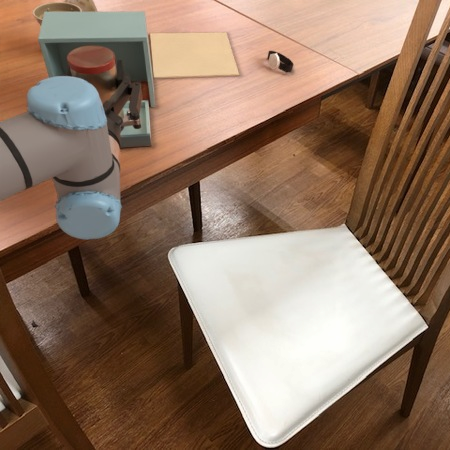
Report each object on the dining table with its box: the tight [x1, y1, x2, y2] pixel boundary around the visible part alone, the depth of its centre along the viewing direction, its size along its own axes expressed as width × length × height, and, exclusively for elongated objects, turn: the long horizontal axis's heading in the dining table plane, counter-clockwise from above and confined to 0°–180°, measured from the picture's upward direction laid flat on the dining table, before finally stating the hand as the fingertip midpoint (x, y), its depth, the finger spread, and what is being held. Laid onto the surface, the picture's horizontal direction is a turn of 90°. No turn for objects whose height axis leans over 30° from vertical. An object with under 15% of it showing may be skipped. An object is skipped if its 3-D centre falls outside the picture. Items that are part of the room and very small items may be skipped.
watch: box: [266, 50, 294, 73], centre depth 114 cm, size 8×5×4 cm, turn 36°
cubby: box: [37, 10, 156, 108], centre depth 95 cm, size 11×18×14 cm, turn 104°
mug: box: [63, 0, 99, 12], centre depth 119 cm, size 8×10×10 cm
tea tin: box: [67, 46, 124, 118], centre depth 85 cm, size 7×7×12 cm
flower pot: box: [32, 1, 82, 26], centre depth 108 cm, size 9×9×9 cm
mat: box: [149, 31, 240, 80], centre depth 115 cm, size 20×18×1 cm
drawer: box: [120, 99, 152, 149], centre depth 91 cm, size 13×15×2 cm
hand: (97, 67), depth 88 cm, fingers closed on tea tin, 7 cm apart
